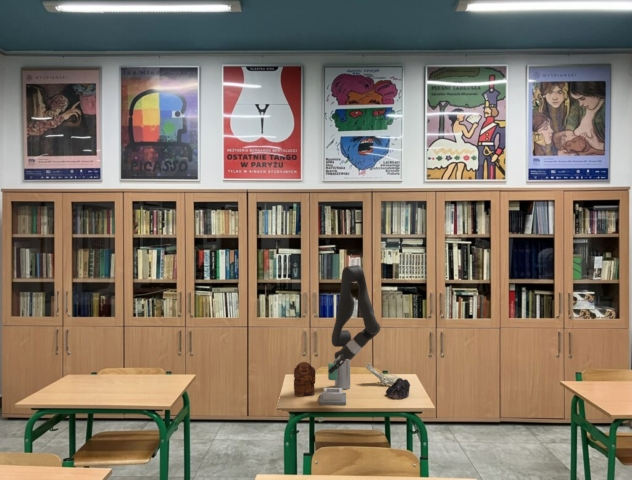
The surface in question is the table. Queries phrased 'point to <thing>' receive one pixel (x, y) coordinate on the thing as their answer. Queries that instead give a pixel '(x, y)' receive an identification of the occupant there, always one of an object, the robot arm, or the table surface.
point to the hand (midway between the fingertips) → (329, 371)
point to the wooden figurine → (304, 379)
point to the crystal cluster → (399, 389)
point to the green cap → (334, 374)
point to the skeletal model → (378, 375)
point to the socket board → (332, 397)
